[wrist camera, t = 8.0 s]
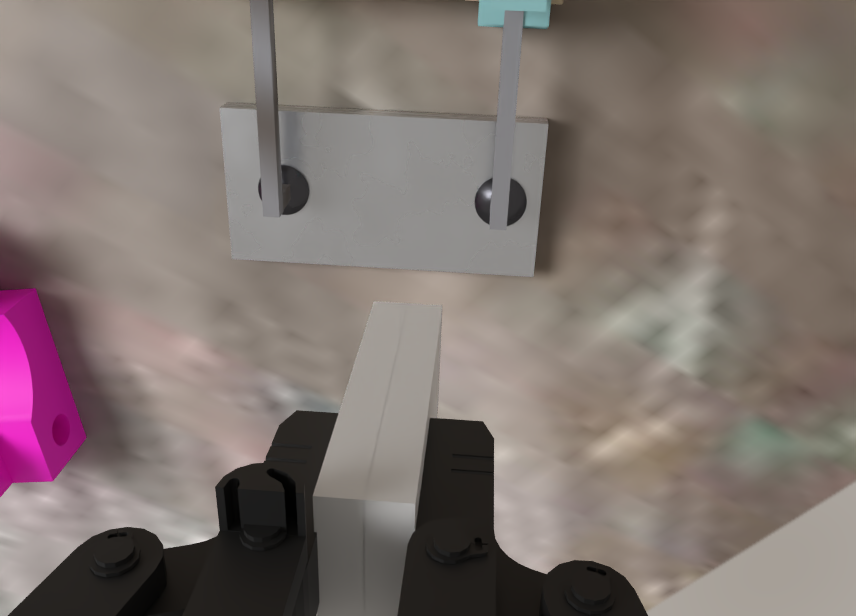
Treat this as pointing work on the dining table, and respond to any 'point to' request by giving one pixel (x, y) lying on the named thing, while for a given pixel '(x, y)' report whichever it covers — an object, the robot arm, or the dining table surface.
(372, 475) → the robot arm
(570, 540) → the dining table surface
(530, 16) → the sliding trammel head
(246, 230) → the bolt plate
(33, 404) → the toy block
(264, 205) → the rail
